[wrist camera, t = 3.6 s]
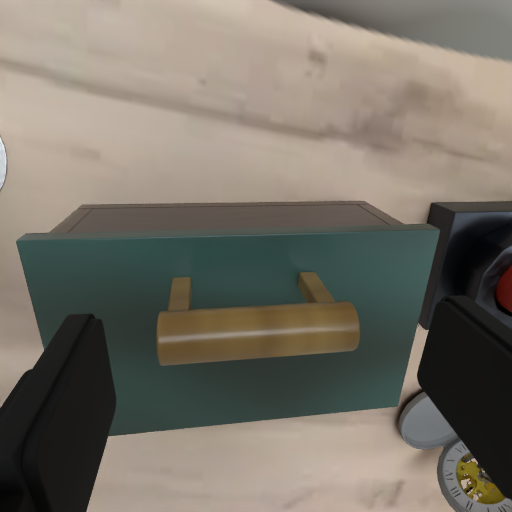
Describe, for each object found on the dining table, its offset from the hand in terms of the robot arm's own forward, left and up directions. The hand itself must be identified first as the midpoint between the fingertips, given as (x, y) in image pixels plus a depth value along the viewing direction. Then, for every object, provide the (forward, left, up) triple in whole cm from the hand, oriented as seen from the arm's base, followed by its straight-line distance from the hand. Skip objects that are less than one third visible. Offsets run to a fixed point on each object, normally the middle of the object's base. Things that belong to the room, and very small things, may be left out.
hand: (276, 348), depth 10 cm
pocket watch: (+17, -18, -12) cm, 28 cm away
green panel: (0, -3, -5) cm, 6 cm away
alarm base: (+17, -3, -12) cm, 21 cm away
